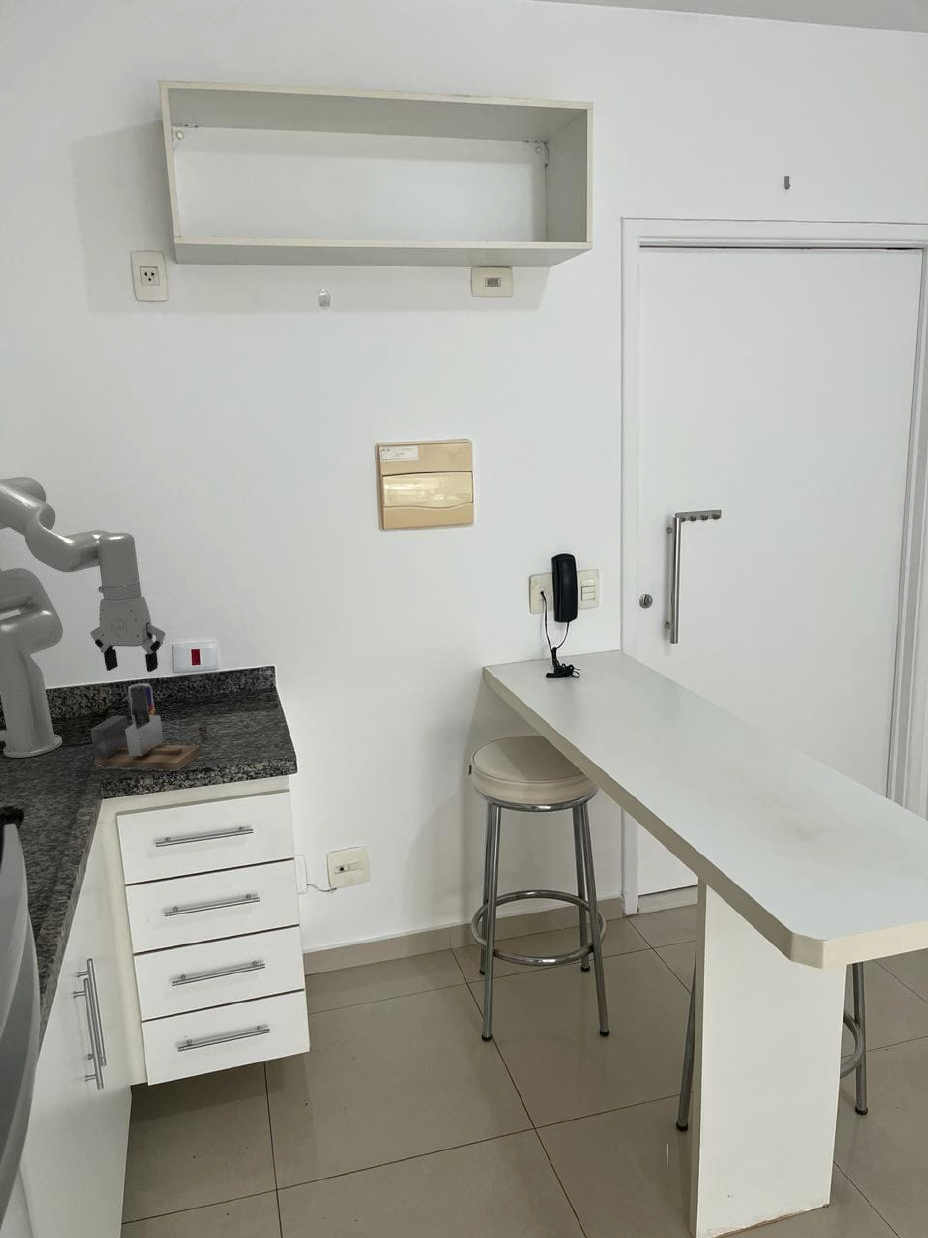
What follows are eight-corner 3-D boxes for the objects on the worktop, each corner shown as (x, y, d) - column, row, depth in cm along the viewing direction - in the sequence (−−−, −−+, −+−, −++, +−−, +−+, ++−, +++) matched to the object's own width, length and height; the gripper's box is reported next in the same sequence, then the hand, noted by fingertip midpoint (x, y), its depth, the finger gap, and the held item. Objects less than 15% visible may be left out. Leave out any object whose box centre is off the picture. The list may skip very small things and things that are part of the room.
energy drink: (150, 737, 222) (143, 689, 220) (130, 737, 223) (122, 689, 221) (162, 729, 227) (155, 682, 225) (142, 729, 229) (134, 682, 226)
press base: (95, 769, 204) (88, 730, 202) (121, 752, 214) (115, 714, 212) (178, 771, 200) (172, 731, 198) (201, 754, 209) (195, 715, 207)
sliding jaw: (129, 755, 202) (119, 693, 199) (151, 740, 211) (142, 680, 207) (141, 755, 201) (132, 693, 198) (163, 740, 210) (154, 681, 207)
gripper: (75, 595, 197) (86, 673, 201) (149, 596, 193) (159, 676, 197) (96, 587, 204) (106, 663, 208) (168, 588, 200) (177, 665, 204)
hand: (132, 669), depth 202 cm, fingers open, 9 cm apart
